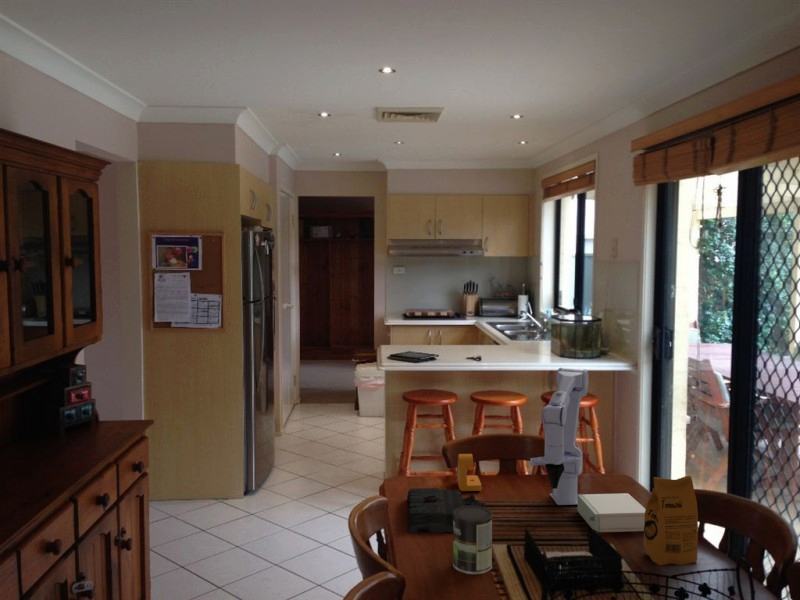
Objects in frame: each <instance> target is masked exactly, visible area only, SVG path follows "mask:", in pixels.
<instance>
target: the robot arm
mask: <svg viewBox="0 0 800 600" xmlns="http://www.w3.org/2000/svg"><path fill="white" fill-rule="evenodd" d="M589 376H590V375H589V372H588V370H587V369H586V368H585V369H580V368H565V367H564V368H563V367H559V368H558V369H557V371H556V384H557V387H558V389H557V391H554V392H553V393H552V396H551V397H550V400H549V402H548V404H547V405H546V406H543V408H542V411H541V412H542V413H541V420H542V425H543V426H542V427H543V430H544V456H539V457H531V458H529V459H530V460H529V464H530V466H531V467H535V466H544V468H545V470H546V472H547V473H546V474H547V475H548V478H549V483H550V487H551V489H552V493H550V494H549V496H550V498H552V499H553V501H554V502H555V504H557V506H565V505H566V506H568V505H573V506H574V505H577V504H578V476H580V475H581V474H582V472H583V468H584V463H583V461H584V460H583V457H584V454H583V452H582V450H580V448H578V447H577V446H576V442H577V441H576V440H577V433H578V425H579V424H578V423H579V414H580V406H581V401H582V398H583V397H586V396H587V395H588V394H587V393H588V391H589V390H588V389H589V381H590V380H589Z"/></svg>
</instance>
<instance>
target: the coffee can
mask: <svg viewBox="0 0 800 600" xmlns="http://www.w3.org/2000/svg"><path fill="white" fill-rule="evenodd" d="M484 507H485V506H484ZM484 507H480V506H462V507H459V508H456V509H455V510H454V511H453V532H452V533H453V538H452V539H453V540H452V543H453V545H452V548H453V550H452V551H453V553H452V555H453V559H452V561H453V562H452V566H453V568H454V569H455V570H456V571H457V572H460V573H462V574H467V575H482V574H486V573H488V572H489V571H491V570H492V568H493V560H492V559H493V557H492V556H493V555H492V554H493V553H492V552H493V551H492V549H493V544H492V542H493V537H492V536H493V512H492V510H490V509H489V508H487V507H485V508H484Z"/></svg>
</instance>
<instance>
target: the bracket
mask: <svg viewBox="0 0 800 600" xmlns="http://www.w3.org/2000/svg"><path fill="white" fill-rule="evenodd" d="M456 470H457V473H456V478H457V479H456V480H457V485H458V488H459V491H460V490H461V491H460V492H473V491H474V492H477V491H478V492H479V491H482V483H481V480H480V478H479V475H476V474H475V475H474V474H472V475H471V474H470V475H469V474H467V471H468V470H469V471H473V470H474V457H473V454H472V453H458V455H457V468H456Z"/></svg>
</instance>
